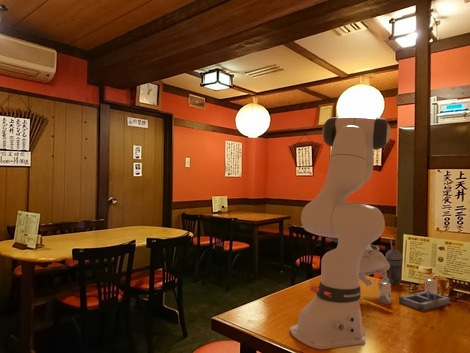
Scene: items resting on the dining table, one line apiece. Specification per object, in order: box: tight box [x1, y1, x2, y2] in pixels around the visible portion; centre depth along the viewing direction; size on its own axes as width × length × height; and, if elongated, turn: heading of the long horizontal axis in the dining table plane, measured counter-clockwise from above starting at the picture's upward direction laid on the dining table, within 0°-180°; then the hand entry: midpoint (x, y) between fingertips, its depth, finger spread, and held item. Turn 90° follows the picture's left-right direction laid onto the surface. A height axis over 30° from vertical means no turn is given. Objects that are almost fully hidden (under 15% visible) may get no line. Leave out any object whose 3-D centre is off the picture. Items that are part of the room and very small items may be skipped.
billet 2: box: [424, 277, 438, 300], centre depth 127 cm, size 4×4×8 cm
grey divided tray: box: [398, 290, 451, 312], centre depth 125 cm, size 16×9×3 cm, turn 117°
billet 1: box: [378, 281, 392, 308], centre depth 126 cm, size 4×4×8 cm
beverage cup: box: [384, 239, 404, 286], centre depth 150 cm, size 7×7×20 cm
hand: (378, 283), depth 129 cm, fingers open, 8 cm apart
